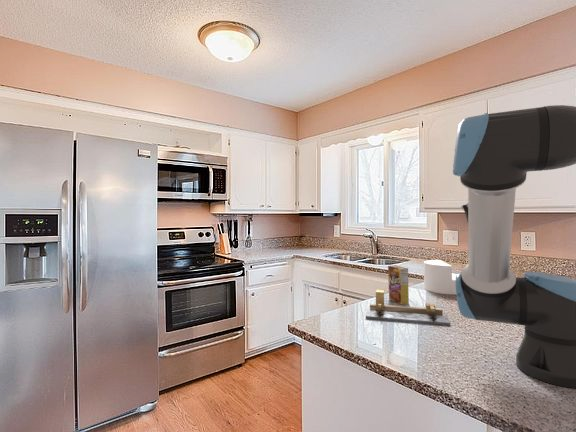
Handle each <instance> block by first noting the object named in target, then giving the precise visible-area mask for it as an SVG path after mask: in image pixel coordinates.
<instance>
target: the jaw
mask: <svg viewBox="0 0 576 432" xmlns="http://www.w3.org/2000/svg"><path fill="white" fill-rule="evenodd" d="M375 304H376V311H379V313H381V311H384V305H385V289H384V290H383V289H382V290H381V289H375Z"/></svg>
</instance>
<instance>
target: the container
mask: <svg viewBox="0 0 576 432" xmlns="http://www.w3.org/2000/svg"><path fill="white" fill-rule="evenodd" d="M457 274H458V273H453V266H452V265H451V264H449V263H447V262H446V261H443V260H441V259H430V260H429V259H428V260H425V261H423V288H424V290H426V291H428V292H431V293H435V294H442V295H457V294H456V275H457Z"/></svg>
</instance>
